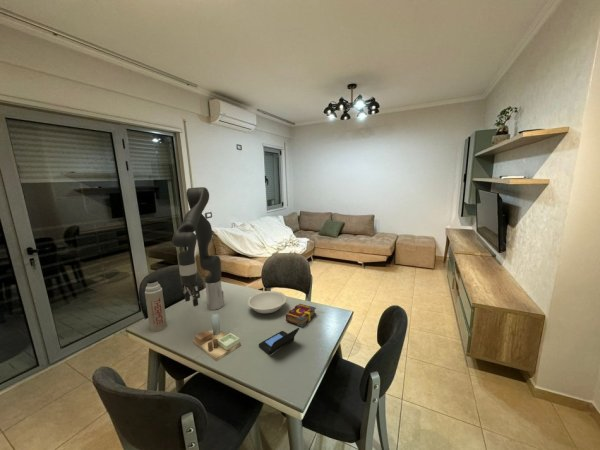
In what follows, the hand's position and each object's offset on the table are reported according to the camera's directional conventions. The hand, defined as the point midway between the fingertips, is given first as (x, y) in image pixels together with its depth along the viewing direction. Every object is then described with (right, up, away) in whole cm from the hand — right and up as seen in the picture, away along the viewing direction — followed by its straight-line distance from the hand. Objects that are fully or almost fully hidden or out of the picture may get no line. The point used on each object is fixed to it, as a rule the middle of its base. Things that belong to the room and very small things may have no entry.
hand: (191, 303), depth 122 cm
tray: (+20, -18, -6) cm, 28 cm away
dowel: (+12, -16, +3) cm, 20 cm away
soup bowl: (+34, -13, +28) cm, 46 cm away
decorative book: (+55, -14, +18) cm, 60 cm away
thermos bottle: (-23, -18, +11) cm, 31 cm away
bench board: (+14, -19, -4) cm, 23 cm away
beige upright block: (+7, -17, -2) cm, 19 cm away
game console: (+44, -19, -6) cm, 48 cm away
